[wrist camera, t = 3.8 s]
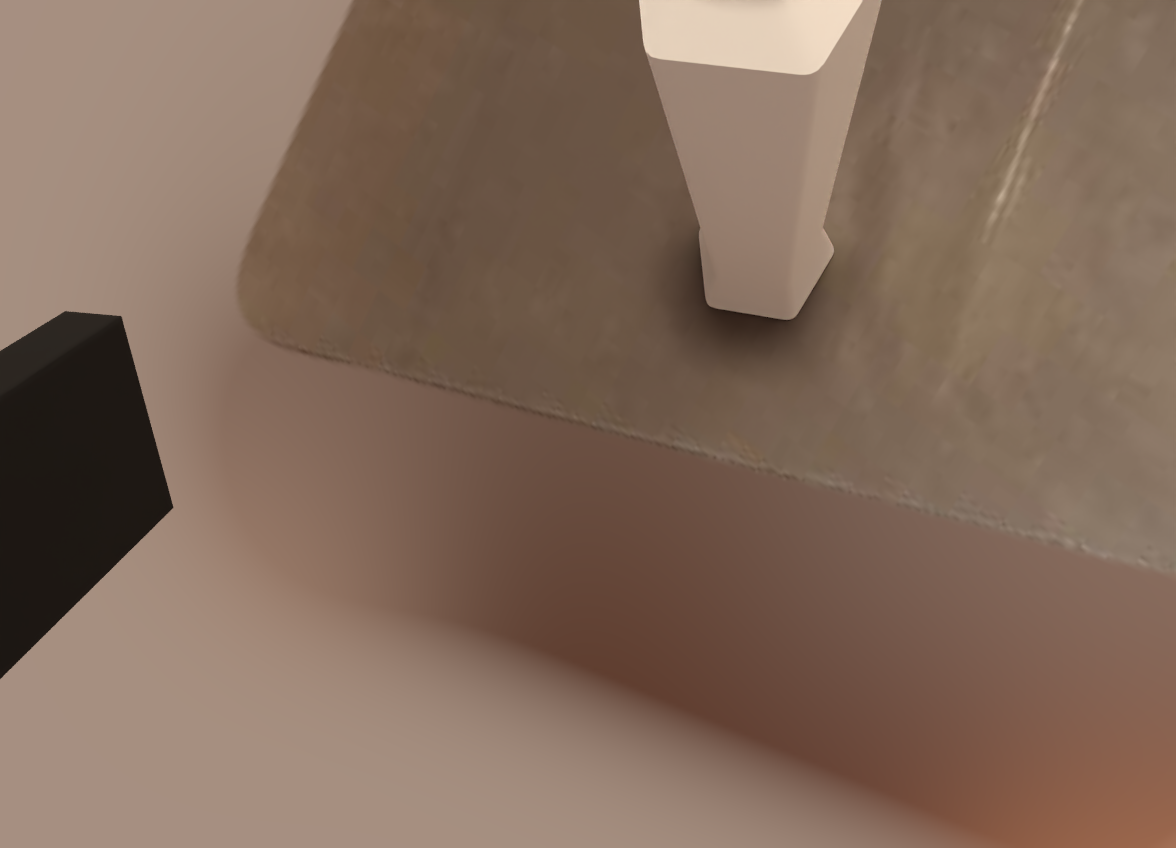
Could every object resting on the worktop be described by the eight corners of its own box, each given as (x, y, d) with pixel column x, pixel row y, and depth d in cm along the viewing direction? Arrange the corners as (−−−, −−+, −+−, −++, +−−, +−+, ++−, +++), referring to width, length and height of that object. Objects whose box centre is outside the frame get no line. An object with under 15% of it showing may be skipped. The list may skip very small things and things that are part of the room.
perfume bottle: (858, 323, 28) (944, -64, 14) (699, 342, 29) (625, -8, 15) (836, 175, 29) (893, -320, 15) (684, 197, 30) (602, -257, 16)
